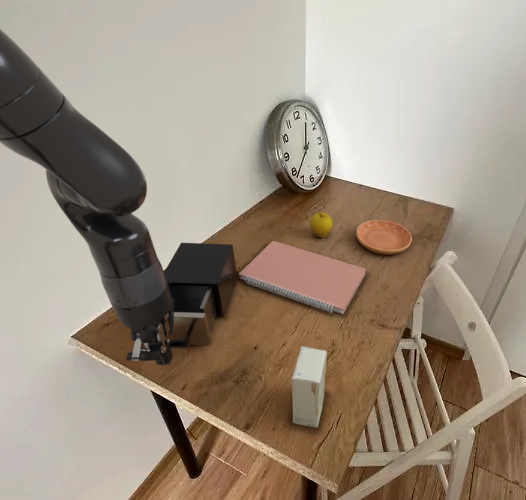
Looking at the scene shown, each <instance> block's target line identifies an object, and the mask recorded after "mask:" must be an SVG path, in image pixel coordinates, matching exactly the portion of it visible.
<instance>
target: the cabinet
mask: <svg viewBox="0 0 526 500" xmlns="http://www.w3.org/2000/svg"><path fill="white" fill-rule="evenodd" d="M163 271H164V274H165V277H166V281H167V284H168V285H179V286H210V287H215V292H216V298H217V303H218V311H217V314H216V317H215V318H224V317H225V315H226V312H227V309H228V306H229V302H230V300H231V297H232V294H233V291H234V287H235V284H236V280H237V278H238V274H237V273H238V271H237V267H236V259H235V251H234V244H227V243H204V242H203V243H200V242H196V243H195V242H180V244H179V245H178V248H177V249H176V251H175V253H174V254H173V256H172V258H171V260H170V261H169V263H168V265H167V266H166V268H165V269H164V270H163Z"/></svg>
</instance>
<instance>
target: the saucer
mask: <svg viewBox="0 0 526 500" xmlns="http://www.w3.org/2000/svg"><path fill="white" fill-rule="evenodd" d="M412 236H413V235H412V234H411V232H410V231H409V229H407V228H406V227H405V226H403V225H402V224H400V223H397V222H395V221H392V220H387V219H370V220H366V221H363V222H361V223H360V224H359V225H358V226H357V227H356V231H355V237H356V239H357V241H358V243H360V245H362V247H364V248H365V249H366V250H368V251H370V252H372V253H375V254H377V255H384V256H390V255H391V256H392V255H396V254H400V253H402V252H405V250H407V249H408V248H409V247H410V246H411V243H412V241H413V237H412Z"/></svg>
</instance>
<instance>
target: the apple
mask: <svg viewBox="0 0 526 500" xmlns="http://www.w3.org/2000/svg"><path fill="white" fill-rule="evenodd" d="M309 226H310V229H311V231H312V233H313V234H314V235H315V237H317V238H322V239H325V238H326V237H328V236H329V234H330V233H331V231H332V228H333V220H332V217H331V216H330V215H329V214H328V213H325V212H323V211H321V210H320V209H319V210H318V212H316V213H315V214H313V215H312V217H311V218H310V220H309Z"/></svg>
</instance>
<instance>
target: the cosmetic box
mask: <svg viewBox="0 0 526 500" xmlns="http://www.w3.org/2000/svg"><path fill="white" fill-rule="evenodd" d="M298 353H299V354H298V356H297V359H296V363H295V367H294V370H293V373H292V377H291V386H292V387H291V388H292V389H291V396H292V423H293V424H296V425H300V426H305V427H311V428H318V427H319V423H320V421H321V420H320V419H321V415H322V411H323V406H324V399H325V391H326V390H325V389H326V388H325V387H326V375H327V374H326V373H327V360H328V359H327V357H328V351H327V350H325V349H320V348H313V347H309V346H301V347H300V350H299V352H298Z"/></svg>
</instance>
